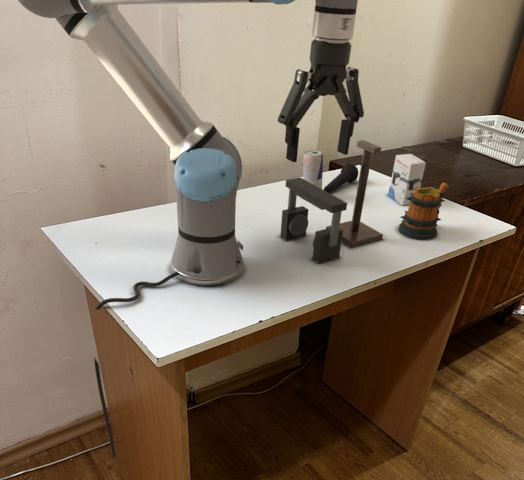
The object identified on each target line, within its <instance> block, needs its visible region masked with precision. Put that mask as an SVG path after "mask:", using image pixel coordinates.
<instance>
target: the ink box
mask: <svg viewBox="0 0 524 480" xmlns="http://www.w3.org/2000/svg"><path fill="white" fill-rule="evenodd" d="M393 163H394V164H393V168H392V174H391V178H390V183H389V188H388V193H387V195H388V196H389V197H390V198H392V199H393V200H395V202H397V203H398V204H400V205H401V206H410V203H411V201H410V200H408V199H406V198H407V197H411V194H410V193H414V191H415V189H416V188H417V189H418V188H421V186H422V181H423V177H424V173H425V169H426V165H427V163H426V162H425V161H424V160H423V159H421V158H419V157H417V156H416V155H414V154H412V153H405V154H404V153H403V154H396V155H395V158H394V162H393Z"/></svg>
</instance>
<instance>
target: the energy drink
mask: <svg viewBox="0 0 524 480" xmlns="http://www.w3.org/2000/svg"><path fill="white" fill-rule="evenodd" d="M302 159H303V160H302V164H303V165H302V169H303V170H302V175H303V176H302V179H304V180H306V181H308V182H310V183H311V184H313V185H315V186H317V187H319V188H321V189H322V190H323V175H324V173H323V168H324V167H323V165H324V155H323V151H321V150H315V149H312V150H306V151H304V152H303V156H302Z"/></svg>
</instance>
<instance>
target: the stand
mask: <svg viewBox="0 0 524 480" xmlns="http://www.w3.org/2000/svg"><path fill="white" fill-rule="evenodd" d="M356 147H357V148H359V149H362V150H363V152H362V157H361V162H360V163H361V164H360V170H359V174H358V182H357V188H356V193H355V200H354V206H353V213H352V217H351V220H348V221H345V222H340V226H339V228H340V229H342V230H343V236H342V243H343V244H344V245H345V246H347V247H349V248H355V247H359V246H363V245H368V244H370V243H373V242H374V243H375V242H378V241H382V240H383V237H384V234H383V233H382V232H379V231H378V230H376V229H375V228H372V227H370V226H369V225H367V224H366V223H364V222H362V221H361V219H362V213H363V207H364V203H365V202H364V201H365V196H366V190H367V185H368V180H369V175H370V168H371V164H372V163H371V162H372V157H373V154H374V155H377V154H381V152H382V146H379V145H376V144H374V143H371V142H369V141H366V140H364V139H363V140H357V141H356ZM328 228H331V225H326V227H325V229H328Z"/></svg>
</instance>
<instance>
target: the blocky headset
mask: <svg viewBox="0 0 524 480" xmlns="http://www.w3.org/2000/svg"><path fill="white" fill-rule="evenodd" d="M285 187H286V188H287V189H289V190H288V201H287V209H282V210H281V223H280V224H281V225H280V234H279V235H280V238H281V239H283V240H284V241H290V240H294V239H298V238H302V237H306V236H307V230H308V227H309V208H307V207H305V206H304V205H301V206H297V197H299V198H301V199H302V200H304V201H306V202H307V203H310V204H311V205H312V206H313V207H316V208H318V209H319V210H321V211H326V212H328V213H330V214H332V216H331V225H330V226H331V228H328V229H326V228H323V229H319V230H317V231H316V230H315V233H314V237H313V239H312V248H313V250H312V255H311V256H312V257H311V259H312V261H314V262H315V263H316V264H322V263H325V262H329V261H334V260H337V259H340V255H341V249H342V243H343V242H342V236H343V230H342V229H340V228H339V226H340V223H341V218H342V212H344V211H347V207H348V202H346V201H345V200H342V199H341V198H339V197H337V196H335V195H334V194H332V193H328V192H326V191H324V190H323V188H322V189H321V188H319V187H317V186H315V185H313V184H311V183H310V182H308V181H306V180H304V179H303V177H300V176H299V177H294V178H288V179H285Z"/></svg>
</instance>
